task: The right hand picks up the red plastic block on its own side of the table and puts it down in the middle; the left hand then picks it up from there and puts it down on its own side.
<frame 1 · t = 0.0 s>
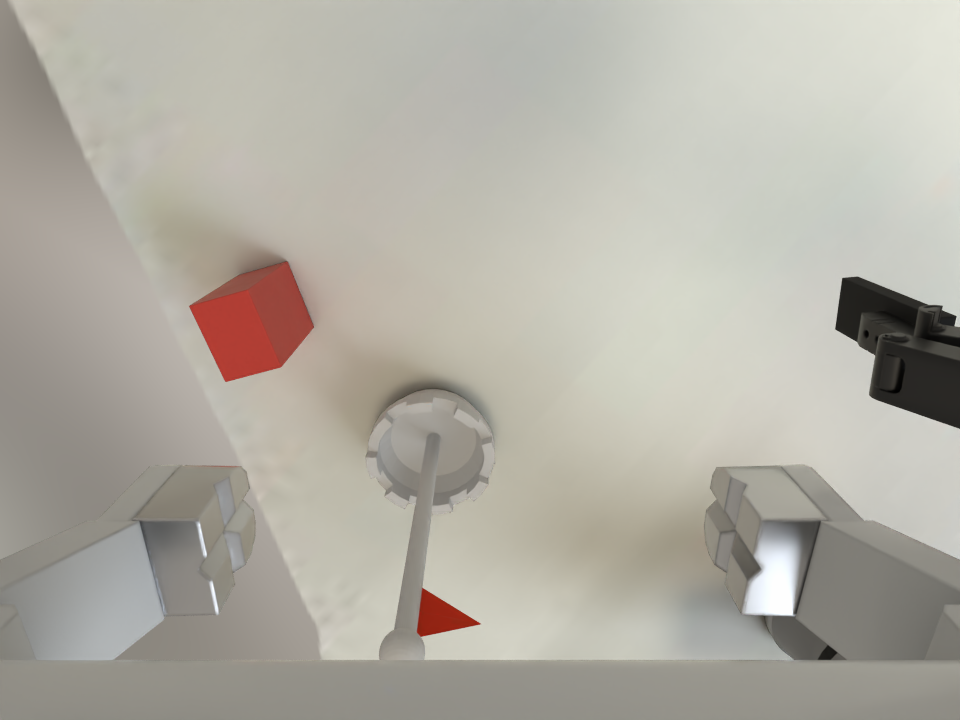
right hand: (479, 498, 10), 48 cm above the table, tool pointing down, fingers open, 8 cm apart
flag stand: (434, 433, 64), on the table
block: (277, 301, 59), on the table
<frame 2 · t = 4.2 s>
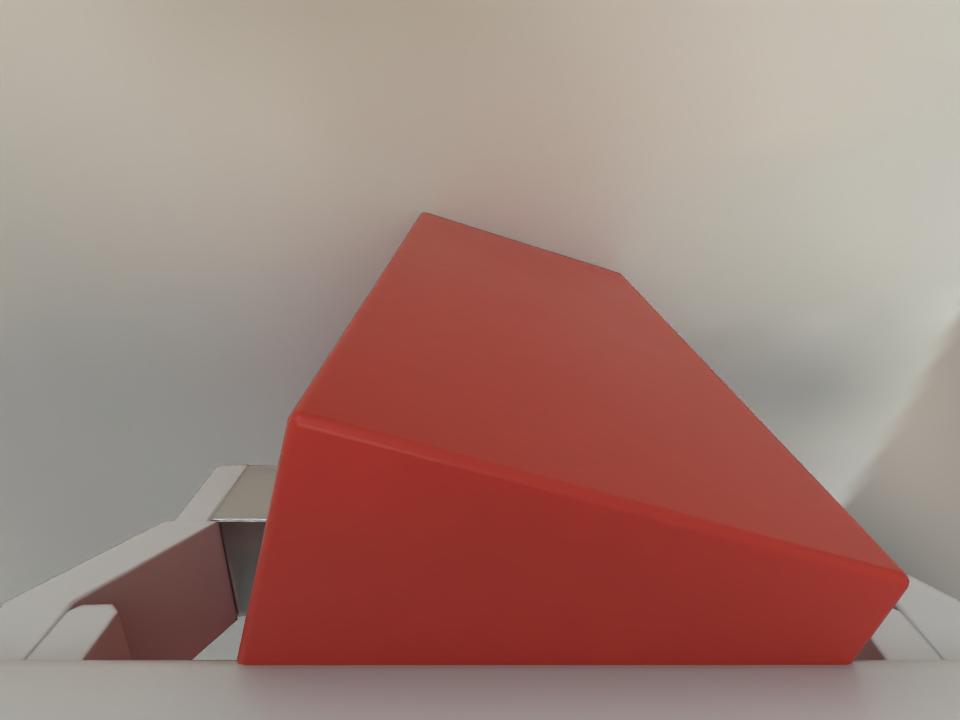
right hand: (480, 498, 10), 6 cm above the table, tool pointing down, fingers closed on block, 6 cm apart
block: (481, 369, 16), on the table, touching right hand
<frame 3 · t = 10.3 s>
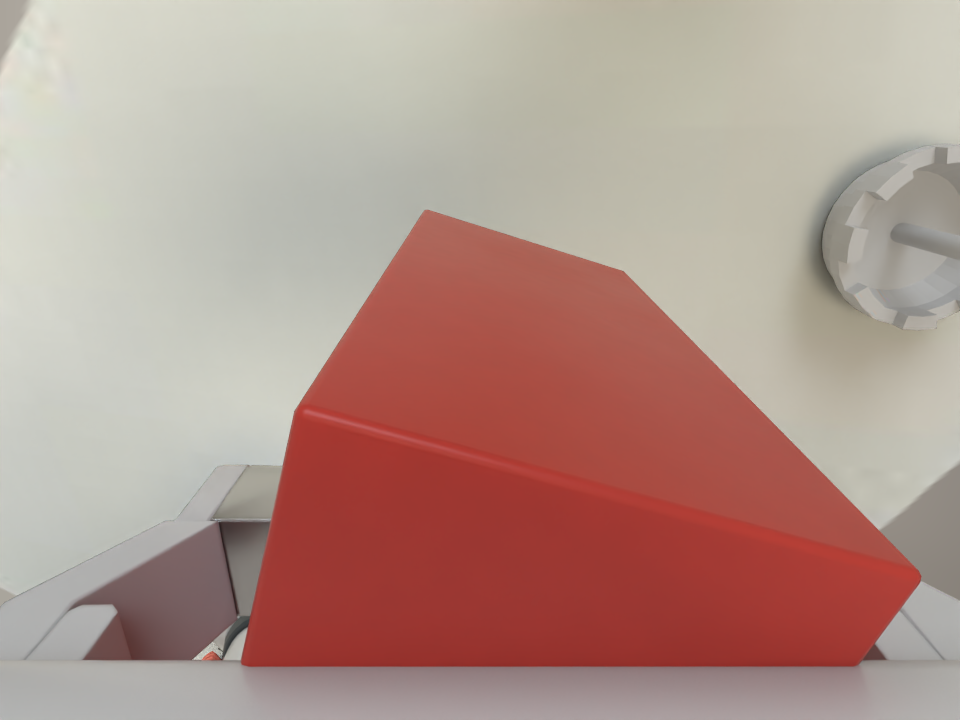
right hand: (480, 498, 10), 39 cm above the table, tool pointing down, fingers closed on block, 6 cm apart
flag stand: (891, 229, 47), on the table
block: (483, 367, 16), point 33 cm above the table, touching right hand
when the right hand's fingers open (7 cm above the table, at t = 16.7 s): block drops 1 cm, on the table.
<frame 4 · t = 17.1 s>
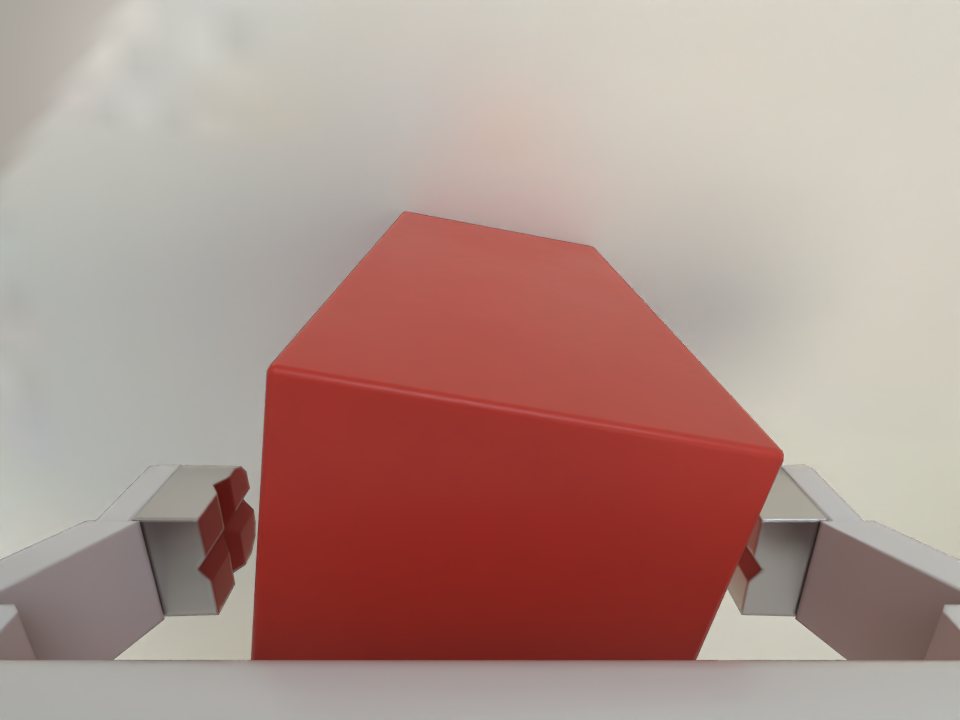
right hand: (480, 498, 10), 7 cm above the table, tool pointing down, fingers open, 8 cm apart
block: (476, 351, 17), on the table
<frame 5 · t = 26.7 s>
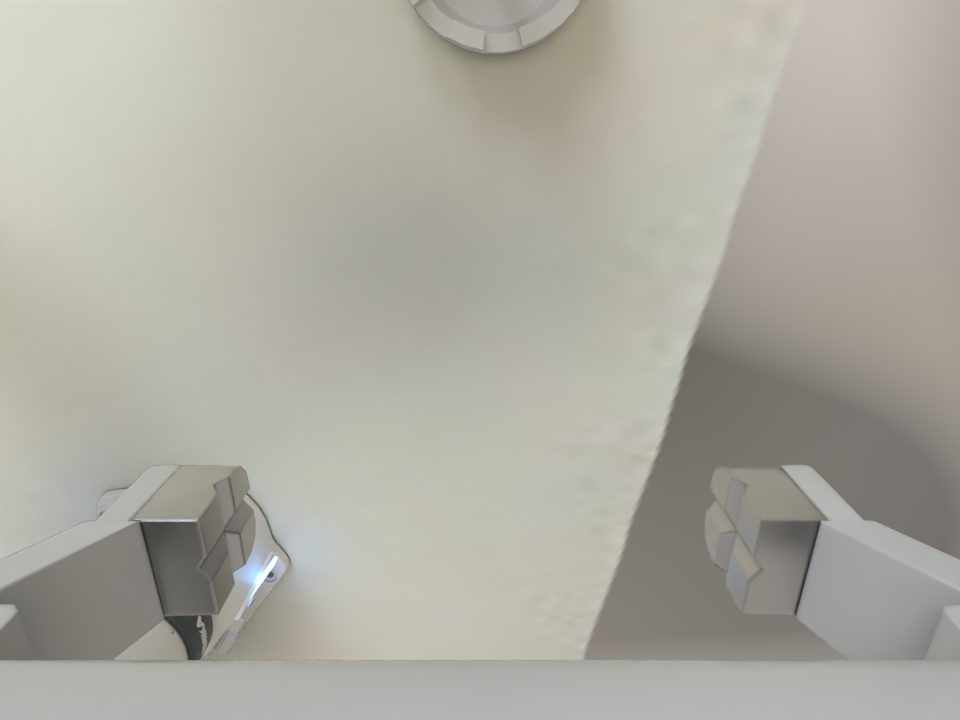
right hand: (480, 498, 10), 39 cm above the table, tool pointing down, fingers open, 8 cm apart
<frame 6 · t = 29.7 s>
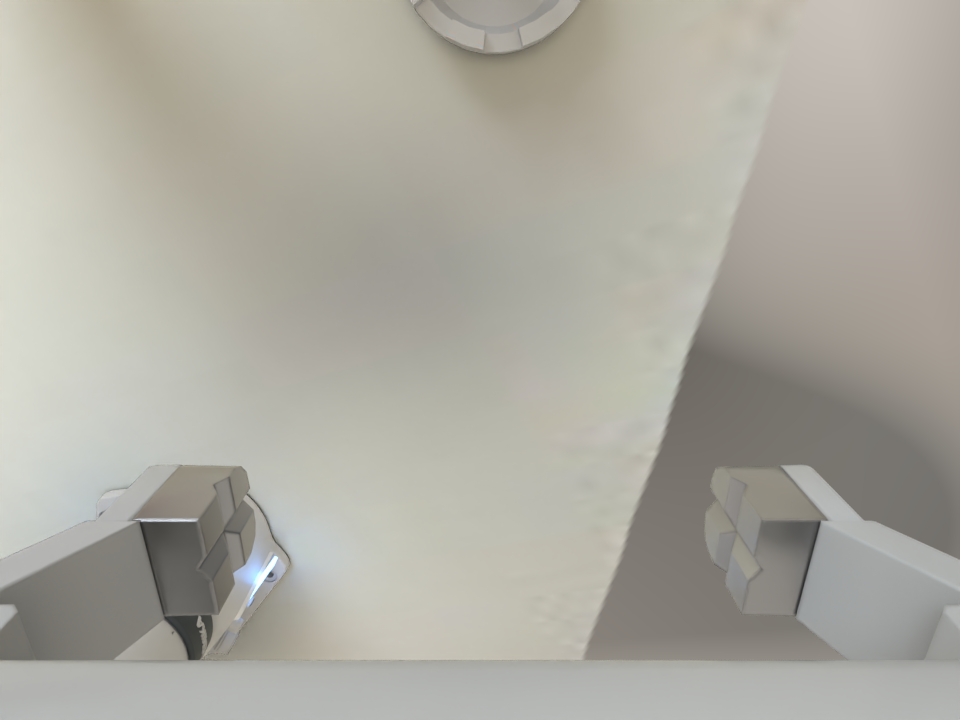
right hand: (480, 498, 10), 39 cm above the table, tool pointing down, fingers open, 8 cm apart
when the left hand's fingers open (5 cm above the table, at t = 33.1 s): block drops 1 cm, on the table.
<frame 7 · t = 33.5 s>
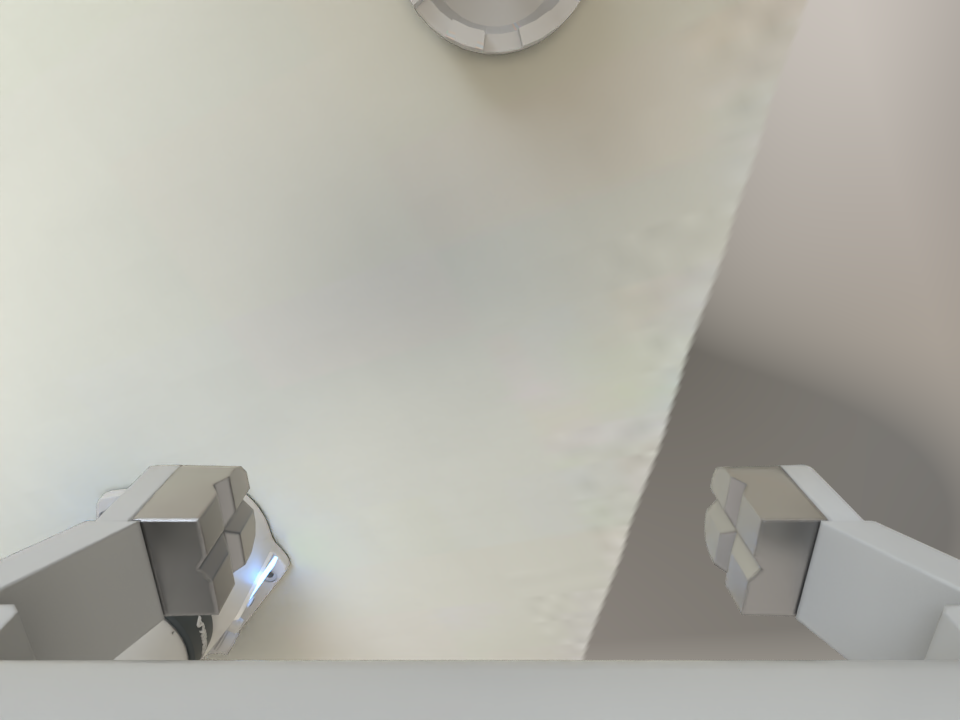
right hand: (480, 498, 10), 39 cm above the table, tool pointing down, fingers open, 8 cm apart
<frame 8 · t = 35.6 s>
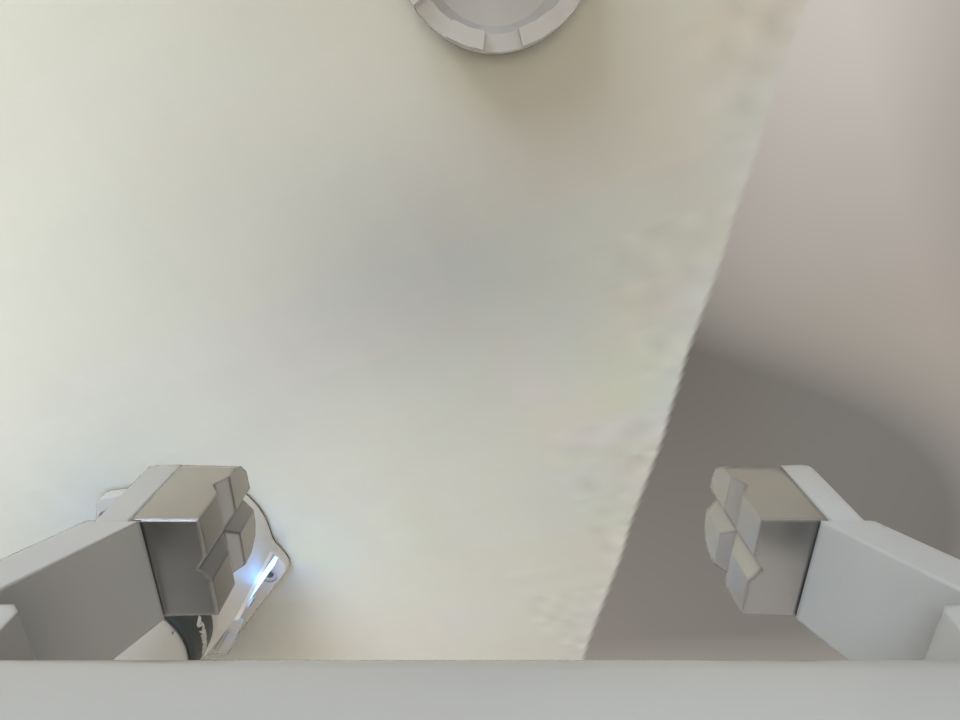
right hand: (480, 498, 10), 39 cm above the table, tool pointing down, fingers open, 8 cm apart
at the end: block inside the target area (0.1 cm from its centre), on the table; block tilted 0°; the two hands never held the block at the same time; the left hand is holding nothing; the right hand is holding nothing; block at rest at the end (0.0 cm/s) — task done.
